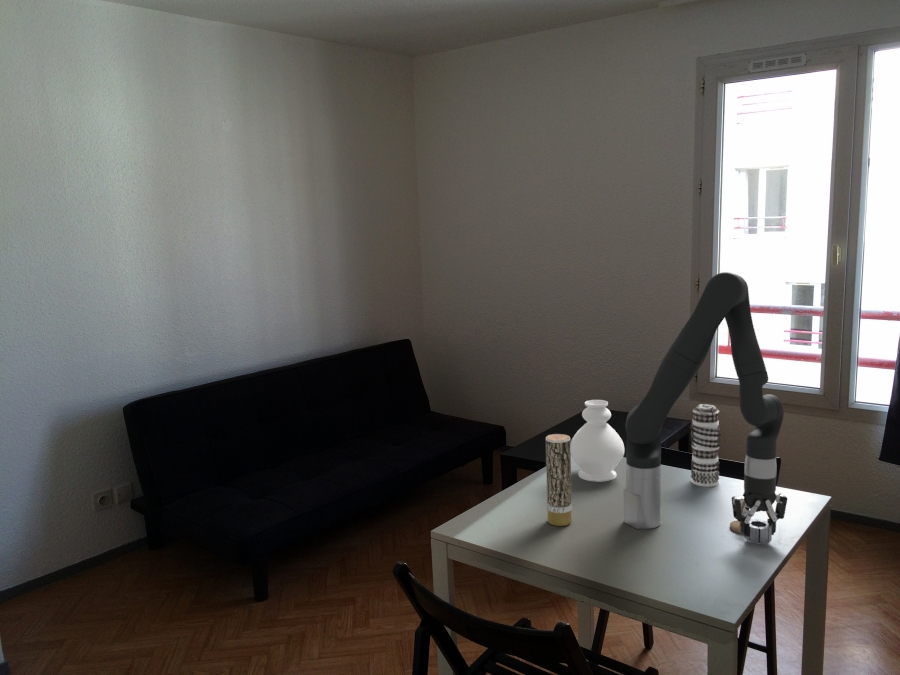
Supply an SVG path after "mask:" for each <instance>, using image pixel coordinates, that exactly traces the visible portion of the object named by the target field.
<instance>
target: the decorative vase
mask: <svg viewBox="0 0 900 675" xmlns="http://www.w3.org/2000/svg"><path fill="white" fill-rule="evenodd" d="M608 405H609V402H608V401H607V400H603V399H590V400H586V401H585V402H584V406H585V408H584V409H583V411H582V413H581V417H582V418H583V420H584V421H586V422H585V423H584V424H583V425H582V426H581V427H580V428H579V429H578V430H577V431H576V433H575V434H574V435H573V437H572V439H571V440H570V452H571V459H573V460H574V462H575V463H576V464H577V465H578V466H579V468H580V469H581V470H579V471H578V472H577V473H578V477H579V478H580V479H582V480H585V481H589V482H595V483H596V482H597V483H599V482H601V483H603V482H609V481H610V482H611V481H613V480H615V479H616V478H617V472H616V470H614V469H615V468H616V467H617V465H618V464H619V463H620V462H621V461H622V459H623V457H624V456H625V445H624V442H623V439H622V438H621V437H620V435H619V433H618V432H616V430H615V428H613V427H612V426H611V425H610V424H609V423H608V421H609V420H610V419H611V417H612V413H611V411H610V409H608V408H607V407H608Z"/></svg>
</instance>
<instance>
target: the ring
mask: <svg viewBox="0 0 900 675" xmlns="http://www.w3.org/2000/svg"><path fill="white" fill-rule="evenodd" d="M749 523H750V530H749V537H746V536H745V535H744V538H745V539H746V540H747V541H748V542H749V543H753V544H757V545H758V544H760V545H763V544H764V545H765V544H770V543H771V542H772V538H773V537H772V536H773V535H772V525H771V524H770V523H768V522H767V520H762V519H757V518H756V519H755V518H754V519H752V518H751V519H750V521H749Z"/></svg>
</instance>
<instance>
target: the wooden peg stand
mask: <svg viewBox="0 0 900 675" xmlns="http://www.w3.org/2000/svg"><path fill="white" fill-rule="evenodd" d="M745 504H746V503H745V502H744V501H743V503H742V506H741V511H742V513H743V508H744V506H745ZM729 529H730V530H731V532H734V533H736V534H740V535H743V533H742V532H741V522H739V521H738V520H737V519H736V520H733V521H731V522H730V523H729Z"/></svg>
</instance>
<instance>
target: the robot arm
mask: <svg viewBox="0 0 900 675" xmlns="http://www.w3.org/2000/svg"><path fill="white" fill-rule="evenodd" d="M705 285H706V286H705V288H704V290H703V292H702V293H701V296H700V298H699V299H698V300H699V301H698V302H697V304H696V307H695V308H694V310H693V312H692V314H691V316H690V317H689V318H688V320H687V321H686V323H685V324H684V325H683V327H682V328H681V330H680V331H679V333H678V335H677V336H676V338H675V339H674V341H673V342H672V343H671V346H670V347H669V348H668V350H667V351H666V353H665V355H664V357H663V358H662V360H661V362H660V364H659V366H658V369H657V371H656V372H655V375H654V378H653V380H652V383H651V384H650V387H649V389H648V391H647V393H646V394H645V396H644V397H643V399H641V402H639V404H638V405H636V406H634V407H633V408H632V409H630V411H629V412H628V413H627V416H626V420H625V424H624V425H625V432H626V436H627V437H626V451H625V452H626V453H625V454H626V466H625V467H626V473H625V474H626V476H625V477H626V489H623V522H624V523H625V524H627V525H629V526H631V527H632V528H635V529H637V530H640V529H654V528H657V527H659V526H660V525H661V518H662V517H661V509H662V508H661V507H662V506H661V505H662V503H661V500H662V499H661V495H662V490H661V489H662V488H661V487H662V486H661V484H662V483H661V482H662V481H661V480H662V479H661V478H662V477H661V475H662V473H661V472H662V467H661V466H662V465H661V464H662V463H661V462H662V429H663V426H664V424H665V421H666V419H667V418H668V415H669V413H670V411H671V409H672V408H673V406H674V404H676V402H677V401H678V399H679V398H680V397H681V395H682V394H683V393H684V392H685V390H686V389H687V387H688V386H689V384H691V382H692V380H693V379H694V378H695V376H696V375H697V373H698V372H699V370H700V368H701V367H702V365H703V364H704V362H705V361H706V358H707V356H708V354H709V351H710V348H711V346H712V343H713V340H714V337H715V335H716V332H717V330H718V328H719V326H720V325H721V323H722V322H723V320H725V322H726V325H727V330H728V333H729V342H730V350H731V351H730V352H731V357H732V361H733V365H734V370H735V373H736V376H737V380H738V382H739V383H738V384H739V385H738V386H739V391H738V393H739V409H740V412H741V415H742V418H743V419H744V420H745V421H746V422H747V424H749V425H751V426H754V428H753V430H752V431H750V432H749V433H748V434H747V437H746V440H745V441H746V443H745V444H746V446H745V447H746V448H745V459H744V470H743V472H744V474H743V479H744V480H743V490H744V491H743V494H742V496H739V497H736V496H732V497H731V506H732V515H733V518H734V519H735V520H736V521H737V520H738V521H739V522H741V532H742V533H743V534H742V535H743V536H744V537H745V536H746V537H749V530H750V523H749V521H750V520H752V517H753V516H755V513H758V512H765V513H766V515H767V517H768V518H767V520H766V521H767V522H768V523H770V524H771V525H772V536H774V535H775V534H776V531H777V522H778V520H783V519H784V518H785V513H786V510H787V508H786V507H787V504H788V497H787V496H785V495H784V494H783V493H781V492H780V493H778V494H776V491H777V474H778V473H777V471H778V470H777V467H778V465H777V442H778V441H777V440H778V437H779V434H780V431H781V427H782V424H783V420H784V413H785V412H784V405H783V403H782V401H781V399H780V398H779V397H778V396H776V395H775V394H771V393H769V394H763V393H764V392H763V386H764V385H767V383H768V382H769V375H768V372H767V367H766V364H765V361H764V357H763V354H762V351H761V348H760V344H759V341H758V338H757V335H756V331H755V328H754V323H753V318H752V311H751V305H750V295H749V294H750V293H749V285H748V283H747V281H746V280H745V279H744V278H743V277H742V276H741V275H739V274H736V273H733V272H730V271H729V272H728V271H723V272H718V273H716V274H715V275H713V276H712V277H711V278H710V279H709V281H707V283H706V284H705ZM743 501H744V502H745V503H746V504H745V506H744V508H743V513H742V511H741V506H742V503H743ZM775 502H776V504H775V509H774V507H773V504H774V503H775Z"/></svg>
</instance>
